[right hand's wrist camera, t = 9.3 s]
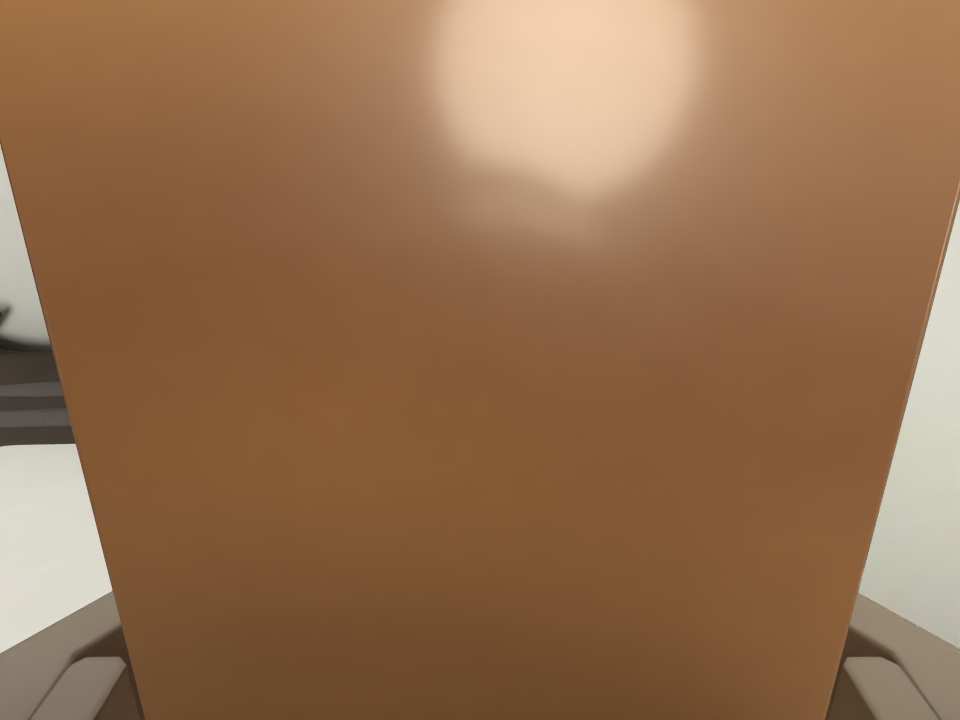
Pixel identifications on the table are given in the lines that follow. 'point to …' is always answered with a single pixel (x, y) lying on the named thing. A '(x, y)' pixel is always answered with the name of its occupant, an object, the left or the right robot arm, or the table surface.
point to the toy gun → (32, 400)
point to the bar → (484, 337)
